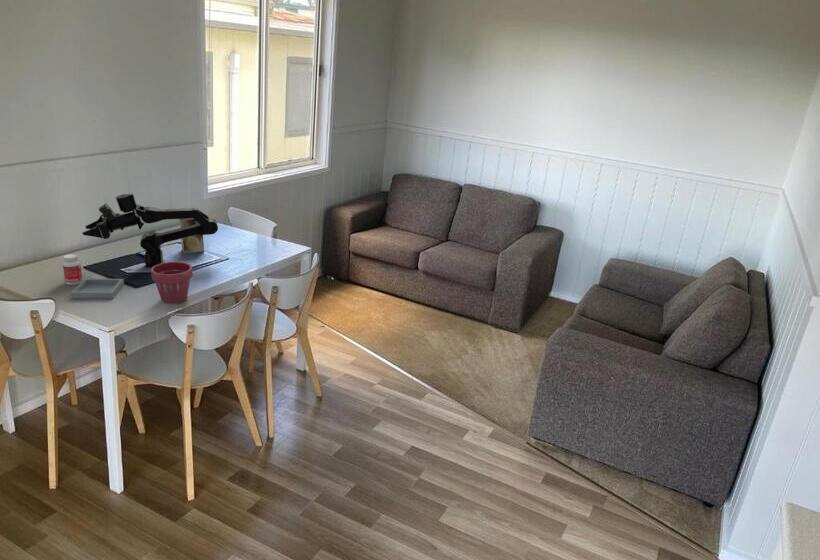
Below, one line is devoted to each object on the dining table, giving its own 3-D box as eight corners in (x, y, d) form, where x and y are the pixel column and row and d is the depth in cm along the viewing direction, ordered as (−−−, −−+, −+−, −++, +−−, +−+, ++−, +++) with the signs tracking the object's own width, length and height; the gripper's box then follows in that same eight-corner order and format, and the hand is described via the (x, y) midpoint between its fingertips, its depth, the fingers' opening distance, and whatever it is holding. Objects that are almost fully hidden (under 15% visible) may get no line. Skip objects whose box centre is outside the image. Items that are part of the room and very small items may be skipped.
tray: (124, 284, 244) (123, 279, 243) (112, 299, 230) (112, 292, 229) (85, 284, 242) (84, 278, 241) (71, 298, 228) (70, 292, 227)
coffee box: (201, 247, 291) (200, 214, 286) (204, 252, 286) (202, 218, 280) (181, 249, 287) (179, 216, 282) (183, 253, 282) (181, 219, 276)
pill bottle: (83, 284, 242) (80, 257, 238) (66, 286, 239) (62, 259, 235) (81, 279, 247) (78, 252, 243) (64, 281, 243) (60, 254, 239)
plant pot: (145, 302, 229) (142, 270, 225) (170, 289, 242) (168, 259, 237) (177, 309, 225) (175, 276, 221) (201, 296, 238) (199, 265, 233)
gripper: (118, 197, 261) (79, 206, 257) (115, 208, 244) (73, 218, 240) (128, 221, 265) (89, 231, 261) (125, 234, 249) (84, 244, 245)
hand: (84, 230), depth 252 cm, fingers open, 9 cm apart
